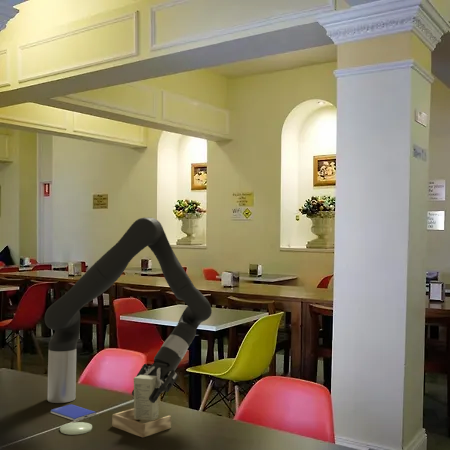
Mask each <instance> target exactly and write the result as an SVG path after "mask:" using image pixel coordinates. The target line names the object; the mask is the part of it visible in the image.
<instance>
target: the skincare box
mask: <svg viewBox="0 0 450 450" xmlns="http://www.w3.org/2000/svg"><path fill="white" fill-rule="evenodd" d="M136 376H137V375H136ZM136 376H135V377H133V389H134V396H133V408H134V419H138V420H141V421H153V420H156V419H158V418H159V398H158V399H157V400H156V401H155V403H152V402H151V401H150V400H149V397H150V395H151V394H152V392H153V391H154V389H155V388H156V389H157V381H156V378H157V376H149V375H139V376H137V377H136Z"/></svg>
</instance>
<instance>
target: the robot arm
mask: <svg viewBox="0 0 450 450" xmlns="http://www.w3.org/2000/svg"><path fill="white" fill-rule="evenodd" d="M147 247H148V248H149V249H150V251H151V252H152V253H153V255H154V256H155V258H156V259H157V261H158V264H159V267H160V268H161V269H160V270H161V272H162V274H163V276H164V279H165V282H166V284H167V285H168V286H169V288H170V290H171V292H172V293H173V295H174V296H175V298H176V299H177V300H179V301H183V302H184V303H185V305H187V306H186V307H185V309H184V310H183V312H182V313H181V316H180V318H179V320H178V322H177V324H176V326H175V327H174V329H173V330H172V332H171V333H170V334H169V336H168V337H167V338H166V339H165V340H164V342H163V344H162V345H161V347H160V349H158V351H157V353H155V356H154V358H153V363H152V364H151V365H147V363H144V364H142V366H141V368H140V370H138V373H137V375H135V377H137V376H139V375H149V376H157V378H156V381H157V389H156V388H155V389H154V391H153V392H152V394H151V395H150V397H149V400H150V401H151V402H152V403H155V401H156V400H157V399H158V400H159V397H160V395H161V394H163V393H164V392H166V393H168V392H170V390H171V388H172V387H173V385H174V384H175V383H176V380H177V379H178V377H179V375H178V374H177V373H176V369H177V368H178V366H179V365H180V363H181V362H182V360H183V358H184V357H185V356H186V353H187V352H188V349H189V347H190V346H191V344H192V342H193V340H194V339H195V337H196V336H197V329H198V327H200V325H201V323H203V322H205V321H206V320H208V319H210V317H211V316H212V311H213V310H212V306H211V303H210V301H209V300H208V298H207V297H206V296H204V294H203V293H202V292H201V291H200V290H199V289H198V288H196V286H195V285H194V283H193V282H192V280H191V278H190V276H189V275H188V274H187V272H186V270H185V269H184V267H183V266H182V264H181V262H180V261H179V259H178V257H177V255H176V254H175V252H174V250H173V248H172V245H171V244H170V241H169V239H168V237H167V234H166V232H165V230H164V228H163V225H162V223H161V222H160V221H159V220H158V219H156V218H155V217H149V216H148V217H141V218H138V219H136V220H135V221H134V222H133V223H132V224H131V225H130V226H129V228H128V229H127V230H126V231H125V233H124V234H123V235H122V237H120V239H119V240H117V242H116V243H115V244H114V245H113V246H112V247H111V248H109V249H108V250H107V251H106V252H105V253H104V254H103V255H102V256H100V257H99V259H98V260H96V261H95V262H94V264H93V265H91V266H90V267H89V269H88V270H87V271H85V273H84V274H83V275H82V276H80V278H79V279H78V280H77V281H76V282H75V284H73V286H72V287H71V288H70V289H69V290H68V291H67V292H66V293H64V294H63V295H62V296H60V297H59V298H58V299H57V300H56V301H54V303H52V304H51V305H50V306H48V308H47V309H46V312H45V314H44V324H45V326H46V327H47V328H48V329H50V330H53V331H54V334H53V336H52V338H51V339H50V340H49V342H48V358H47V359H48V360H47V361H48V362H47V364H48V365H47V401H48V402H49V403H51V404H52V403H53V404H54V403H55V404H64V403H69V402H73V401H75V399H76V395H77V394H76V390H77V389H76V388H77V387H76V384H77V345H78V341H79V339H80V327H81V312H80V310H81V309H82V308H83V307H85V306H86V305H87V304H88V303H90V302H92V301H93V300H95V299H96V298H98V297H99V296H101V295H103V293H105V292H106V291H107V290H109V289H110V287H111V286H113V285H114V284H115V283H116V281H118V279H120V277H121V276H122V274H124V272H125V270H126V268H127V266H128V265H129V264H130V262H131V261H132V260H133V259H134V257H135V256H137V255H138V254H139V253H140V252H141V251H143V250H144V249H145V248H147ZM131 395H132V396H133V397H134V388H133V389H132V392H131Z"/></svg>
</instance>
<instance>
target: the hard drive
mask: <svg viewBox="0 0 450 450" xmlns="http://www.w3.org/2000/svg"><path fill="white" fill-rule="evenodd" d="M50 414H53V415H55V416H59V417H60V418H61V417H62V418H65V419H67V420H71V421H74V422H78V421H80V420H83V419H87V418H90V417H93V416H96V415H97V411H94V410H91V409H89V408H84V407H81V406H78V405H75V404H72V403H71V404H66V405H63V406H60V407H55V408H53V409H52V408H51V410H50Z"/></svg>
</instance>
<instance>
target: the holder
mask: <svg viewBox="0 0 450 450" xmlns="http://www.w3.org/2000/svg"><path fill="white" fill-rule="evenodd" d="M138 420H139V419H134V407H133V408H129V409H126V410H123V411H119V412H116V413H113V414H112V419H111V421H112V423H111V425H112V427H113V428H116V429H117V430H118V429H119V430H122V431H124V432H127V433H129V434H131V435H135V436H137V437H141V438H145V437H149V436H152V435H155V434H157V433H160V432H163V431H165V430H169V429H171V427H172V416H171V415H165V416H163V417H160V418H159V417H158V418H156V419H154V420H153V421H151V420H149V421H147V422H141V421H138Z"/></svg>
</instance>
